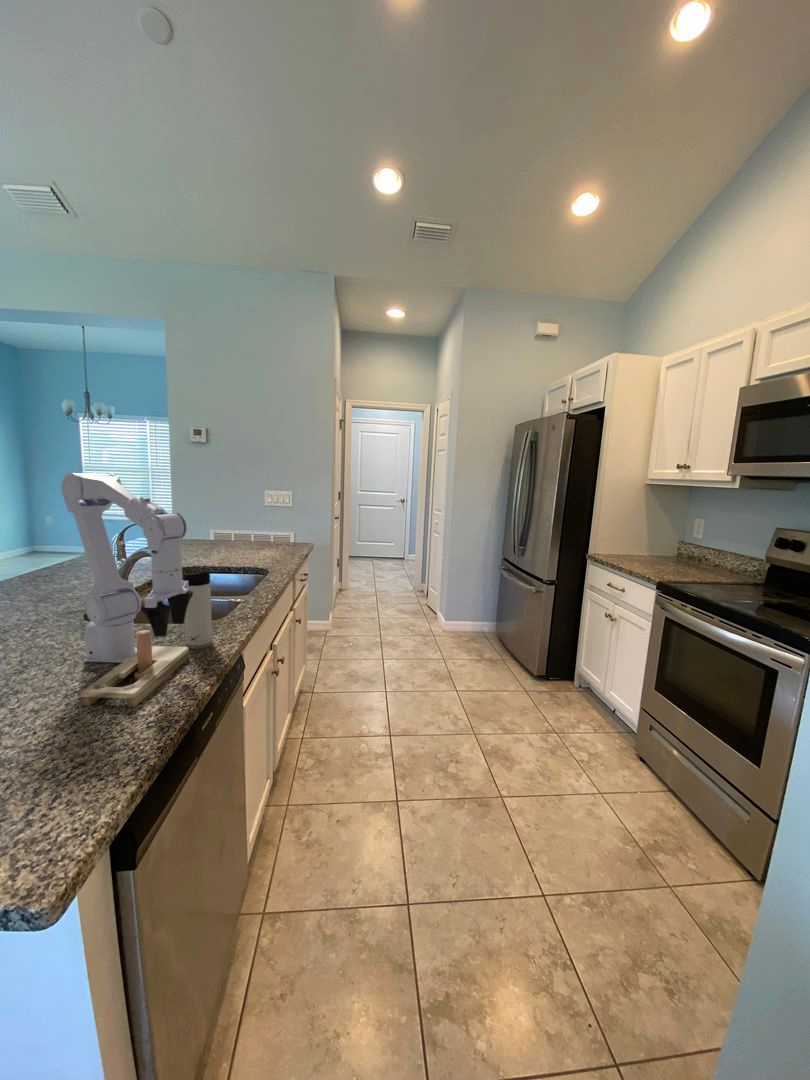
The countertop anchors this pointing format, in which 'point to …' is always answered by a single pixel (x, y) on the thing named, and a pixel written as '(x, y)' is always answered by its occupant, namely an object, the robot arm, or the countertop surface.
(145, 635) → the terracotta peg
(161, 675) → the keyhole plate
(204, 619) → the travel mug
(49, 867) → the countertop surface
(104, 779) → the countertop surface
